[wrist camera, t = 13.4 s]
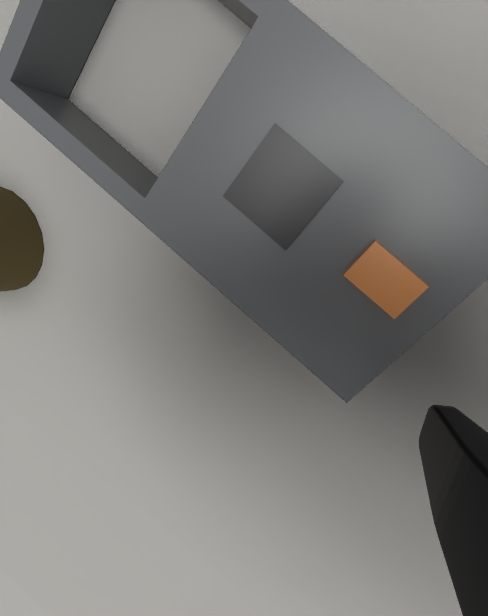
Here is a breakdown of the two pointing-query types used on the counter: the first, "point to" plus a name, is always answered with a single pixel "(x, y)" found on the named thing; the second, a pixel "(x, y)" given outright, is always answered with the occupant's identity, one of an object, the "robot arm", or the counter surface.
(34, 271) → the cork
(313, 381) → the counter surface
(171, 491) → the counter surface
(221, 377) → the counter surface
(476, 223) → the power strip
